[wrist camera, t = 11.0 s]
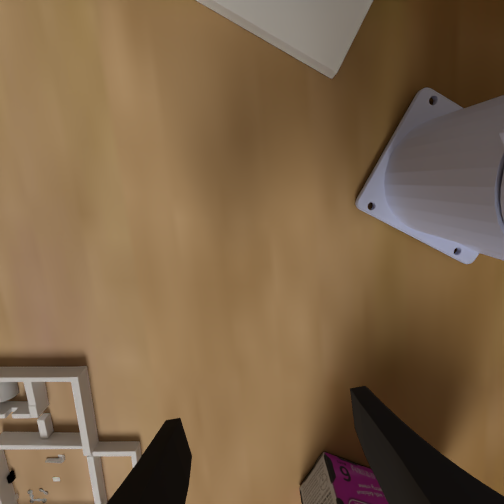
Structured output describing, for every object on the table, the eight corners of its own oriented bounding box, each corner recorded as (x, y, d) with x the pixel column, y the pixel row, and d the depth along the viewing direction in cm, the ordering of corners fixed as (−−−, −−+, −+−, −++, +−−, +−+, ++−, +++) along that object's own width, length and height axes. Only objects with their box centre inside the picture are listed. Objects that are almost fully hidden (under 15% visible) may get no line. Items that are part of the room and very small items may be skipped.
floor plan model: (215, 528, 27) (213, 555, 25) (-50, 532, 26) (-73, 560, 24) (210, 359, 22) (207, 376, 20) (-112, 360, 22) (-147, 377, 20)
